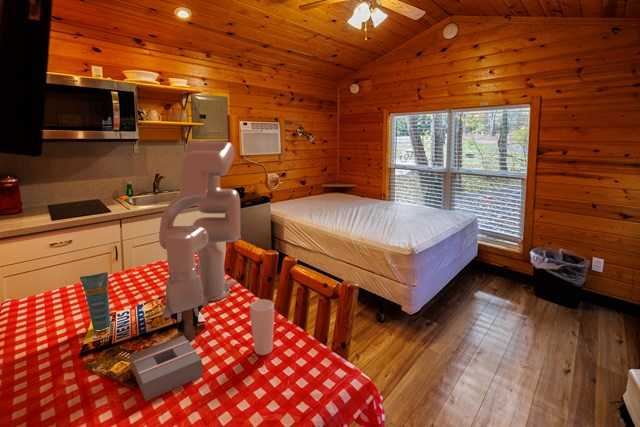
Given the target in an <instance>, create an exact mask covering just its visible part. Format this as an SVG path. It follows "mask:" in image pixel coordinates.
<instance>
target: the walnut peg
mask: <svg viewBox="0 0 640 427" xmlns="http://www.w3.org/2000/svg"><path fill="white" fill-rule="evenodd" d="M181 318H182V320H183V322H184V333H182V336H183V335H184V337H185V338H186V339H187V341H189V343H190V342H193V341H194V340H195V338H196V336H195V334H196V333H195V328H194V322H193V311H192V309H189V310H186V311H183V312H182V317H181Z"/></svg>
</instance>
